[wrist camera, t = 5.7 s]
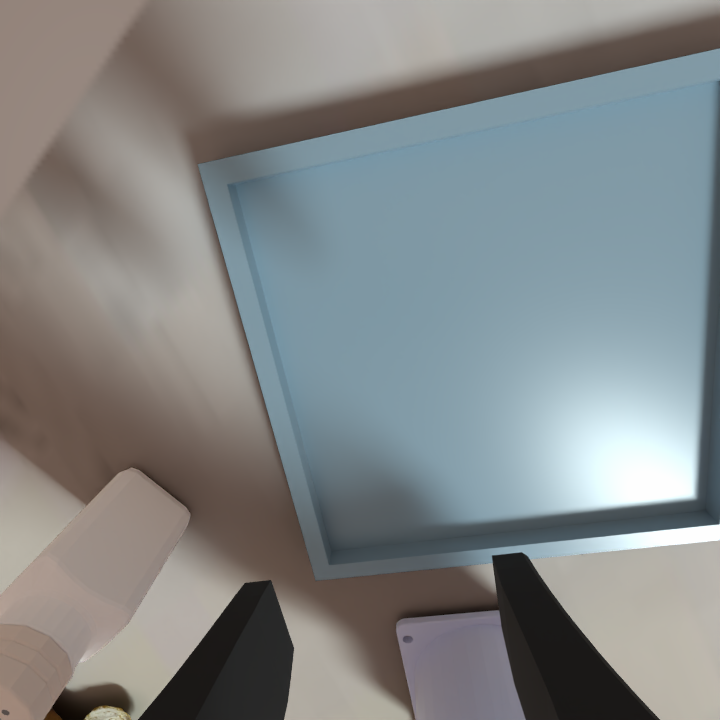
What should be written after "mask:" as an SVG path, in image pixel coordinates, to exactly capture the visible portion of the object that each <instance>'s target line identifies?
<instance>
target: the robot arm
mask: <svg viewBox="0 0 720 720" xmlns="http://www.w3.org/2000/svg"><path fill="white" fill-rule="evenodd" d="M492 561H493V568H494V576H495V583H496V590H497V598H498V605H499V610H495V611H483V612H472V613H461V614H449V615H438V616H427V617H416V618H404V619H401V620H399V621H398V622H397V624H396V633H397V638H398V642H399V647H400V651H401V656H402V660H403V665H404V669H405V674H406V678H407V683H408V687H409V692H410V696H411V701H412V705H413V710H414V715H415V719H416V720H660V719H659V718H658V717H657V716H656V715H655V714H654V713H653V712H652V711H651V710H650V709H649V708H648V707H647V706H646V705H645V703H644V702H643V701H642V700H641V699H640V698H639V697H638V696H637V695H636V694H635V693H634V692H633V690H632V689H631V688H630V687H629V686H628V685H627V684H626V683H625V682H624V680H623V679H622V678H621V677H620V676H619V675H618V674H617V673H616V672H615V670H614V669H613V668H612V667H611V666H610V665H609V664H608V662H607V661H606V660H605V659H604V658H603V657H602V655H601V654H600V653H599V652H598V651H597V650H596V648H595V647H594V646H593V645H592V643H591V642H590V641H589V640H588V639H587V637H586V636H585V635H584V634H583V632H582V631H581V630H580V629H579V628H578V626H577V625H576V624H575V623H574V621H573V620H572V619H571V618H570V616H569V615H568V614H567V612H566V611H565V610H564V609H563V607H562V606H561V605H560V603H559V602H558V600H557V599H556V598H555V596H554V595H553V594H552V592H551V591H550V590H549V588H548V587H547V585H546V584H545V582H544V581H543V580H542V578H541V577H540V575H539V574H538V572H537V570H536V569H535V567H534V566H533V564H532V563H531V561H530V559H529V557H528V556H527V555H525V554H524V553H522V552H519V553H510V554H501V555H492ZM293 652H294V647H293V644H292V641H291V638H290V635H289V632H288V629H287V626H286V623H285V620H284V617H283V614H282V611H281V608H280V605H279V602H278V599H277V596H276V594H275V591H274V588H273V585H272V582H271V580H268V581H259V582H250V583H245V584H244V585H243V586H242V587H241V589H240V590H239V591H238V593H237V594H236V595H235V597H234V598H233V599H232V601H231V602H230V603H229V604H228V606H227V607H226V608H225V610H224V611H223V613H222V614H221V615H220V617H219V618H218V619H217V621H216V622H215V623H214V625H213V626H212V627H211V629H210V630H209V631H208V633H207V634H206V635H205V637H204V638H203V639H202V641H201V642H200V643H199V645H198V646H197V647H196V648H195V650H194V651H193V652H192V654H191V655H190V656H189V657H188V659H187V660H186V661H185V663H184V664H183V665H182V666H181V668H180V669H179V670H178V672H177V673H176V674H175V675H174V677H173V678H172V679H171V681H170V682H169V683H168V684H167V685H166V687H165V688H164V689H163V690H162V692H161V693H160V694H159V695H158V696H157V698H156V699H155V700H154V701H153V702H152V704H151V705H150V706H149V707H148V708H147V710H146V711H145V712H144V713H143V714H142V716H141V717H140V718H139V719H138V720H284V717H285V712H286V707H287V703H288V696H289V688H290V680H291V671H292V662H293Z"/></svg>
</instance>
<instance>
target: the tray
mask: <svg viewBox="0 0 720 720" xmlns="http://www.w3.org/2000/svg"><path fill="white" fill-rule="evenodd" d="M198 167H199V171H200V174H201V178H202V181H203V185H204V189H205V192H206V196H207V199H208V203H209V206H210V210H211V213H212V217H213V220H214V224H215V227H216V231H217V234H218V238H219V241H220V245H221V249H222V252H223V256H224V259H225V263H226V266H227V270H228V273H229V277H230V280H231V284H232V287H233V291H234V294H235V298H236V301H237V305H238V309H239V312H240V316H241V319H242V323H243V326H244V330H245V333H246V337H247V340H248V344H249V347H250V351H251V354H252V358H253V361H254V365H255V369H256V372H257V376H258V379H259V383H260V386H261V390H262V393H263V397H264V400H265V404H266V407H267V411H268V414H269V418H270V421H271V425H272V429H273V432H274V436H275V439H276V443H277V446H278V450H279V453H280V457H281V460H282V464H283V467H284V471H285V474H286V478H287V481H288V485H289V489H290V492H291V496H292V499H293V503H294V506H295V510H296V513H297V517H298V520H299V524H300V527H301V531H302V534H303V538H304V541H305V545H306V549H307V552H308V556H309V559H310V563H311V566H312V570H313V573H314V577H315V580H316V581H320V580H330V579H339V578H349V577H359V576H369V575H379V574H389V573H399V572H409V571H419V570H428V569H438V568H448V567H458V566H468V565H478V564H488V563H493V561H492V555H501V554H510V553H519V552H522V553H524V554H525V555H527V556H528V557H529V559H537V558H547V557H557V556H567V555H577V554H587V553H597V552H607V551H617V550H626V549H636V548H646V547H656V546H666V545H676V544H686V543H696V542H706V541H715V540H720V48H719V49H715V50H710V51H706V52H701V53H697V54H692V55H688V56H683V57H679V58H674V59H670V60H665V61H661V62H656V63H652V64H647V65H643V66H638V67H634V68H629V69H624V70H620V71H615V72H611V73H606V74H602V75H597V76H593V77H588V78H584V79H579V80H575V81H570V82H566V83H561V84H557V85H552V86H548V87H543V88H539V89H534V90H530V91H525V92H521V93H516V94H512V95H507V96H503V97H498V98H494V99H489V100H485V101H480V102H476V103H471V104H467V105H462V106H458V107H453V108H449V109H444V110H440V111H435V112H431V113H426V114H422V115H417V116H413V117H408V118H404V119H399V120H395V121H390V122H386V123H381V124H377V125H372V126H368V127H363V128H358V129H354V130H349V131H345V132H340V133H336V134H331V135H327V136H322V137H318V138H313V139H309V140H304V141H300V142H295V143H291V144H286V145H282V146H277V147H273V148H268V149H264V150H259V151H255V152H250V153H246V154H241V155H237V156H232V157H228V158H223V159H219V160H214V161H210V162H205V163H201V164H198Z"/></svg>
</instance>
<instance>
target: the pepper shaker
mask: <svg viewBox="0 0 720 720" xmlns="http://www.w3.org/2000/svg"><path fill="white" fill-rule="evenodd" d="M190 515H191V514H190V512H189V511H188V509H187V508H186V507H185V506H184V505H183V504H181V503H180V502H179V501H178V500H176V499H175V498H174V497H173V496H171V495H170V494H169V493H168V492H166V491H165V490H164V489H162V488H161V487H160V486H159V485H157V484H156V483H155V482H154V481H152V480H151V479H150V478H149V477H147V476H146V475H145V474H144V473H142V472H141V471H140V470H137V469H135V468H132V467H131V468H129V469H127V470H125V471H122V472H119V473H118V474H117V475H116V476H115V477H114V478H113V479H112V480H111V481H110V482H109V483H108V484H107V485H106V486H105V487H104V488H103V489H102V490H101V491H100V492H99V494H98V495H97V496H96V497H95V498H94V499H93V500H92V501H91V502H90V503H89V504H88V505H87V506H86V507H85V508H84V509H83V510H82V511H81V512H80V513H79V514H78V515H77V516H76V517H75V518H74V519H73V520H72V521H71V523H70V524H69V525H68V526H67V527H66V528H65V529H64V530H63V531H62V532H61V533H60V534H59V535H58V536H57V537H56V538H55V539H54V540H53V541H52V542H51V543H50V544H49V545H48V546H47V547H46V548H45V549H44V551H43V552H42V553H41V554H40V555H39V556H38V557H37V558H36V559H35V560H34V561H33V562H32V563H31V564H30V565H29V566H28V567H27V568H26V569H25V570H24V571H23V572H22V573H21V574H20V575H19V576H18V577H17V579H16V580H15V581H14V582H13V583H12V584H11V585H10V586H9V587H8V588H7V589H6V590H5V591H4V592H3V593H2V594H1V595H0V720H44V718H45V716H46V715H47V713H48V712H49V711H50V709H51V708H52V706H53V705H54V703H55V701H56V700H57V699H58V697H59V696H60V694H61V692H62V691H63V689H64V688H65V686H66V685H67V684H68V682H69V681H70V680H71V679H72V677H73V674H74V670H75V667H76V666H77V664H78V663H79V662H85V661H86V660H88V659H89V658H91V657H92V656H94V655H95V654H96V653H97V652H99V651H100V650H101V649H102V648H103V647H104V646H106V645H107V644H108V643H109V642H110V641H111V640H112V639H113V638H114V637H115V636H116V635H117V634H118V633H119V632H120V631H121V630H122V629H123V628H124V627H125V626H126V625H127V624H128V623H129V622H130V620H131V618H132V617H133V615H134V613H135V612H136V610H137V608H138V607H139V605H140V603H141V602H142V600H143V599H144V597H145V595H146V594H147V592H148V590H149V589H150V587H151V585H152V584H153V582H154V580H155V579H156V577H157V575H158V574H159V572H160V571H161V569H162V567H163V566H164V564H165V562H166V561H167V559H168V557H169V556H170V554H171V552H172V551H173V549H174V547H175V546H176V544H177V543H178V541H179V539H180V538H181V536H182V534H183V533H184V531H185V529H186V528H187V526H188V523H189V520H190Z"/></svg>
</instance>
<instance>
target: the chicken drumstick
mask: <svg viewBox="0 0 720 720" xmlns="http://www.w3.org/2000/svg"><path fill="white" fill-rule="evenodd" d="M44 720H62V719H61V718H60V716H59V715H57V714H56V712H55V711H54V710H53V706H52V708H51V709H50V711H49V712H48V713H47V715H46V716H45V718H44ZM84 720H131V717H130V716H129V715H128V714H127V713H126V712H124V711H123V709H122V708H117V707H110V706H105V705H104V706H99V707H96V708H94V709H93V710H92V712H91V713H89V714H88V715H87V716H86V718H85V719H84Z"/></svg>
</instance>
